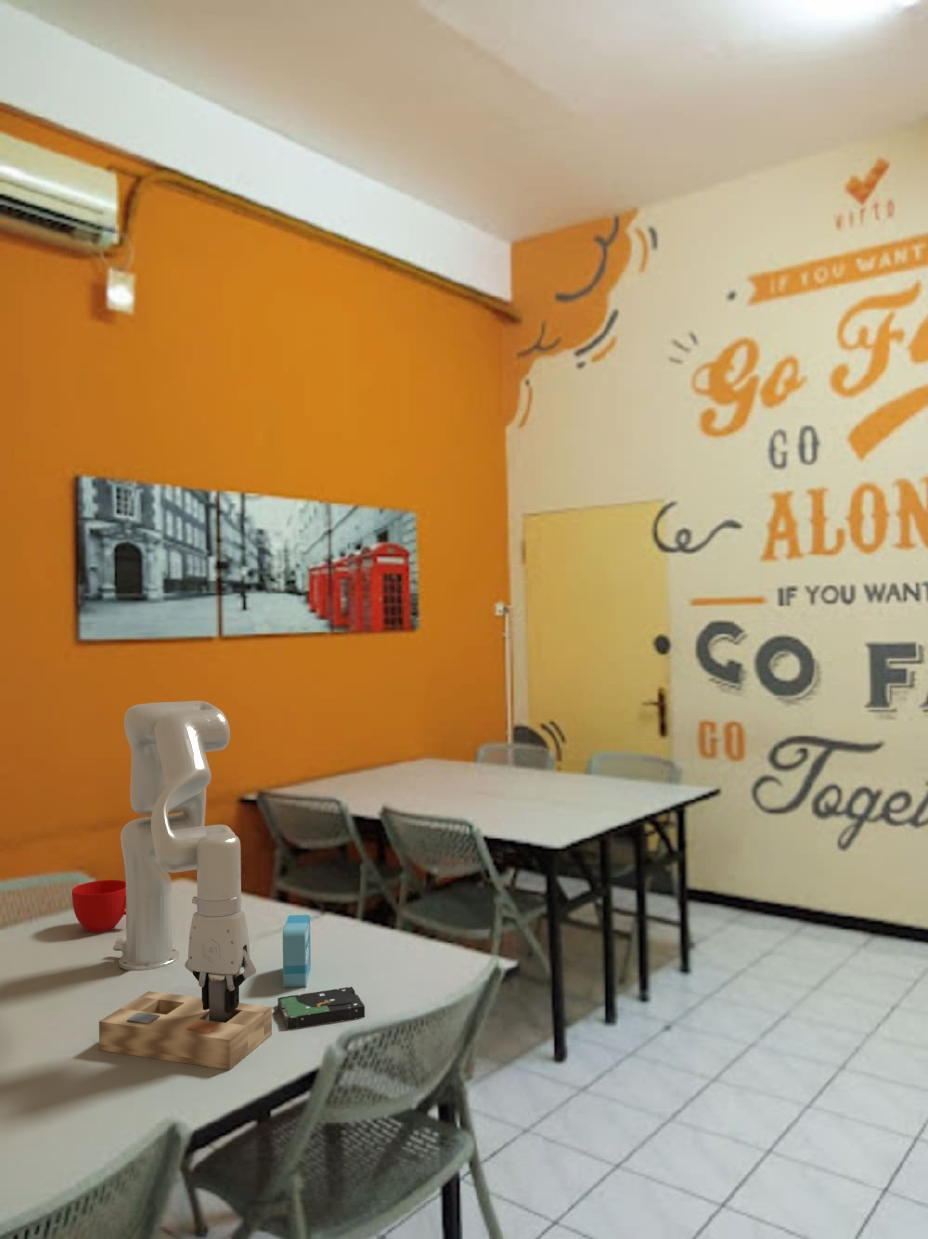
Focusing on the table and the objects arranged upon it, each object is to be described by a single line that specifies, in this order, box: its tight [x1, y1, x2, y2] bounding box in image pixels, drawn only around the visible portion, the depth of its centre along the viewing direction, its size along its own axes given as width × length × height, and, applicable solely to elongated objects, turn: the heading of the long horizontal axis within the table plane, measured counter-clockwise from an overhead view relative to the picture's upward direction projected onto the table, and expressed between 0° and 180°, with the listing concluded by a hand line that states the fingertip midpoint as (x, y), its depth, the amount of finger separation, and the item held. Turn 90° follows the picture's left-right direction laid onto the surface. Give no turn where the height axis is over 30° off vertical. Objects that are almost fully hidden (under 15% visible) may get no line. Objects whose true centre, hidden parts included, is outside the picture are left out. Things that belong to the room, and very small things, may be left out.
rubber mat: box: [166, 984, 202, 998], centre depth 188 cm, size 10×10×1 cm
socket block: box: [98, 990, 273, 1071], centre depth 170 cm, size 26×14×5 cm, turn 72°
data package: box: [282, 914, 312, 988], centre depth 199 cm, size 12×4×12 cm, turn 4°
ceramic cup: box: [71, 879, 126, 933], centre depth 233 cm, size 13×17×10 cm
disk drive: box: [277, 986, 366, 1030], centre depth 182 cm, size 10×3×15 cm
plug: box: [208, 973, 232, 1023], centre depth 169 cm, size 4×4×10 cm
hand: (220, 1007), depth 169 cm, fingers closed on plug, 3 cm apart
